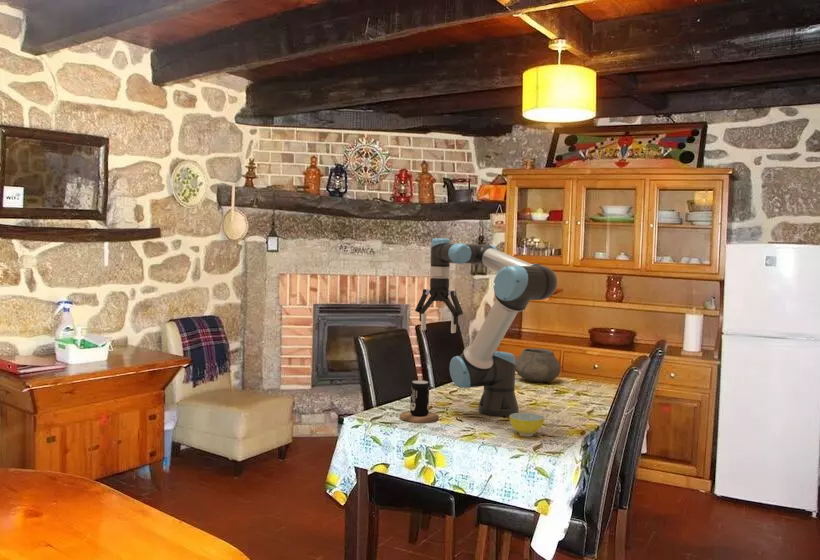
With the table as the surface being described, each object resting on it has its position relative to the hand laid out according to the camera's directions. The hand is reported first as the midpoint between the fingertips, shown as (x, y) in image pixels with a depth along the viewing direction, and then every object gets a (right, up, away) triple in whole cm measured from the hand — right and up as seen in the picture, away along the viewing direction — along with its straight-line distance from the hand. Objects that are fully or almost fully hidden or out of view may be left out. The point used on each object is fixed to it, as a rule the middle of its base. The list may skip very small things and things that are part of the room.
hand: (438, 331), depth 278 cm
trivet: (-8, -30, -25) cm, 39 cm away
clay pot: (+49, -28, +57) cm, 81 cm away
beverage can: (-8, -28, -25) cm, 38 cm away
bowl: (+27, -31, -44) cm, 60 cm away
